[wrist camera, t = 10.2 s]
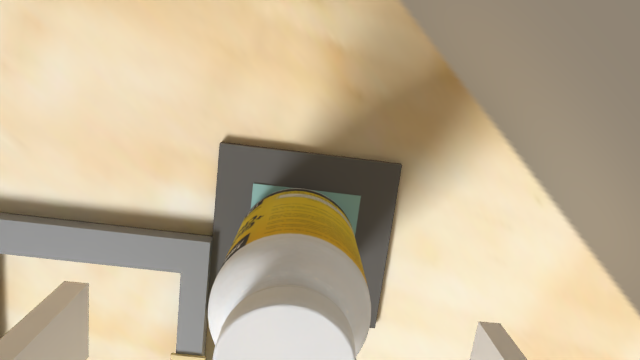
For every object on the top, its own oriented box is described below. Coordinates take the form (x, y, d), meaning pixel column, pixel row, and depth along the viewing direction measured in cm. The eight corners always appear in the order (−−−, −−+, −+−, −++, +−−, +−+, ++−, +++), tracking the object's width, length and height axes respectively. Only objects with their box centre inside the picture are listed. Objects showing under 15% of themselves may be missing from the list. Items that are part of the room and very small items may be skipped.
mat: (221, 142, 25) (219, 143, 25) (400, 163, 25) (402, 165, 25) (208, 307, 27) (206, 311, 27) (373, 324, 28) (374, 328, 27)
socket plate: (-36, 208, 26) (-53, 215, 24) (218, 236, 26) (213, 244, 25) (-25, 434, 29) (-39, 449, 28) (200, 454, 30) (196, 470, 28)
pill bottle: (277, 163, 25) (247, 236, 14) (375, 222, 26) (425, 338, 14) (218, 258, 26) (146, 398, 15) (315, 312, 27) (316, 484, 16)
